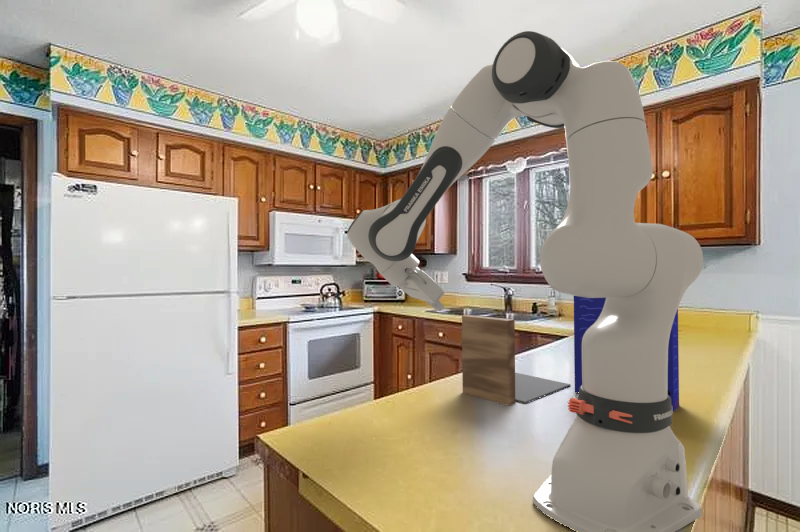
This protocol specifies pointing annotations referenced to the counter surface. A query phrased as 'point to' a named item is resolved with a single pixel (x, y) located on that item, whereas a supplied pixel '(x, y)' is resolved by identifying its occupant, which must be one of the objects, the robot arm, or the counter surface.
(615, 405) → the robot arm
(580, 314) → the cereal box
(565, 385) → the mat
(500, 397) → the board
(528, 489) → the counter surface
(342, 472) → the counter surface
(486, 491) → the counter surface
